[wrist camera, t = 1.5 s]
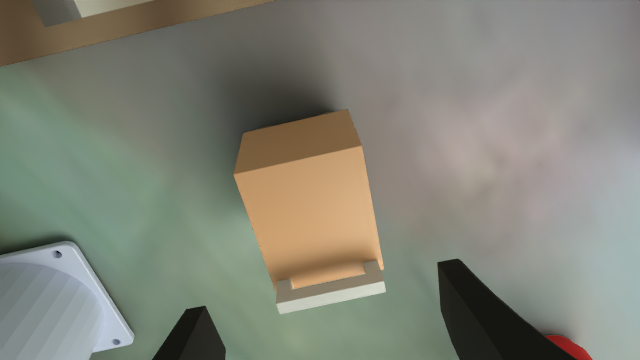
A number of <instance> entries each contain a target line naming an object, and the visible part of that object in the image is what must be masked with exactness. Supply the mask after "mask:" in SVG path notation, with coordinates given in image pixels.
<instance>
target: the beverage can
mask: <svg viewBox="0 0 640 360" xmlns="http://www.w3.org/2000/svg"><path fill="white" fill-rule="evenodd" d="M544 336H545V337H547V338H548V339H549V340H551V341H552V342H553V343H555V344H556V345H558V346H559V347H560V348H562V349H563V350H565V351H566V352H568V353H569V354H570V355H572V356H573V357H575V358H576V359H578V360H592V358H591V357H590V356H589V354H588V353H587V352H586V350H585V349H583V348H582V347H580V346H578V345H577V344H575V343H573V342H572V341H571V340H570V339H569V338H567V337H565V336H562V335H557V334H550V335H544Z"/></svg>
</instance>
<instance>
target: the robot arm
mask: <svg viewBox="0 0 640 360" xmlns="http://www.w3.org/2000/svg"><path fill="white" fill-rule="evenodd" d="M56 251H59V252H60V253H61V254H60V253H57V252H56ZM437 263H438V277H439V292H440V306H441V312H442V315H443V318H444V321H445V324H446V327H447V330H448V333H449V336H450V339H451V341H452V344H453V346H454V348H455V350H456V353H457V355H458V357H459V359H460V360H578V359H576V358H575V357H573V356H572V355H570V354H569V353H568V352H566V351H565V350H563V349H562V348H560V347H559V346H558V345H556V344H555V343H553V342H552V341H551V340H549V339H548V338H547V337H545V336H544V335H543V334H542V333H540V332H539V331H538V330H536V329H535V328H534V327H533V326H531V325H530V324H529V323H528V322H526V321H525V320H524V319H523V318H522V317H520V316H519V315H518V314H517V313H516V312H514V311H513V310H512V309H511V308H510V307H509V306H508V305H506V304H505V303H504V302H503V301H502V300H501V299H500V298H498V297H497V296H496V295H495V294H494V293H493V292H492V291H491V290H490V289H489V288H488V287H487V286H486V285H485V284H484V283H483V282H482V281H480V280H479V279H478V278H477V277H476V276H475V275H474V274H473V273H472V272H471V270H470V269H469V268H468V267H467V266H466V265H465V264H464V263H463V262H462V261H461V260H459V259H453V260H447V261H442V262H437ZM133 339H134V334H133V332H132V331H131V329H130V328H129V326H128V324H127V323H126V321H125V320H124V318H123V317H122V315H121V314H120V312H119V310H118V309H117V307H116V306H115V304H114V303H113V301H112V299H111V298H110V296H109V295H108V293H107V292H106V290H105V288H104V287H103V285H102V284H101V282H100V281H99V279H98V278H97V276H96V274H95V273H94V271H93V270H92V268H91V267H90V265H89V263H88V262H87V260H86V259H85V257H84V256H83V254H82V253H81V251H80V249H79V248H78V246H77V245H76V244H75V243H73V242H70V241H62V242H58V243H53V244H49V245H44V246H40V247H35V248H31V249H26V250H22V251H17V252H12V253H8V254H3V255H0V360H89V358H90V356H91V354H92V353H93V352H97V351H102V350H107V349H112V348H116V347H121V346H126V345H129V344H131V343H132V342H133ZM225 353H226V349H225V347H224V344H223V342H222V340H221V338H220V336H219V334H218V332H217V330H216V327H215V325H214V323H213V321H212V319H211V317H210V315H209V313H208V310H207V308H206V306H201V307H196V308H190V309H186V310H185V312H184V313H183V315H182V316H181V318H180V319H179V321H178V322H177V324H176V325H175V327H174V328H173V330H172V331H171V332H170V334H169V335H168V337H167V338H166V340H165V341H164V343H163V344H162V346H161V347H160V349H159V350H158V352H157V353H156V355H155V356H154V358H153V359H152V360H225Z"/></svg>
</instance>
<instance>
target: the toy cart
mask: <svg viewBox="0 0 640 360" xmlns="http://www.w3.org/2000/svg"><path fill="white" fill-rule="evenodd" d="M233 175H234V178H235V180H236V183H237V186H238V189H239V191H240V194H241V197H242V200H243V203H244V205H245V208H246V211H247V214H248V216H249V219H250V222H251V225H252V227H253V230H254V233H255V236H256V238H257V241H258V244H259V247H260V249H261V252H262V255H263V258H264V261H265V263H266V266H267V269H268V272H269V274H270V277H271V280H272V283H273V285H274V288H275V291H276V292H277V296H276V304H277V307H278V310H279V313H280V314H283V313H288V312H293V311H298V310H302V309H307V308H312V307H317V306H322V305H326V304H331V303H336V302H341V301H345V300H350V299H355V298H360V297H364V296H369V295H374V294H379V293H383V292H386V290H385V285H384V280H383V276H382V273H381V270H383V269H384V266H383V261H382V255H381V250H380V244H379V238H378V233H377V227H376V222H375V216H374V210H373V205H372V199H371V193H370V188H369V182H368V177H367V171H366V165H365V160H364V154H363V149H362V144H361V142H360V139H359V137H358V134H357V132H356V129H355V127H354V124H353V122H352V119H351V117H350V114H349V112H348V109H346V110H341V111H337V112H334V111H328V112H324V113H322V114H321V115H319V116H315V117H311V118H306V119H302V120H297V121H293V122H289V123H284V124H280V125H276V126H263V127H260V128H258V129H257V130H254V131H249V132H245V133H243V136H242V140H241V145H240V149H239V153H238V157H237V161H236V166H235V170H234V174H233ZM365 273H366V274H365ZM360 274H364V275H360ZM355 275H359V276H355ZM351 276H355V277H351ZM346 277H350V278H346ZM341 278H345V279H341ZM336 279H341V280H336ZM332 280H336V281H332ZM327 281H331V282H327ZM322 282H326V283H322ZM318 283H322V284H318ZM313 284H317V285H313ZM308 285H312V286H308ZM303 286H308V287H303ZM299 287H303V288H299ZM294 288H298V289H294Z"/></svg>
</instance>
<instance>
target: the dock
mask: <svg viewBox="0 0 640 360" xmlns="http://www.w3.org/2000/svg"><path fill="white" fill-rule="evenodd" d="M271 1H275V0H0V67H1V66H5V65H9V64H13V63H17V62H21V61H26V60H30V59H34V58H38V57H42V56H46V55H51V54H55V53H59V52H63V51H67V50H71V49H76V48H80V47H84V46H88V45H92V44H96V43H100V42H105V41H109V40H113V39H117V38H121V37H125V36H130V35H134V34H138V33H142V32H146V31H150V30H155V29H159V28H163V27H167V26H171V25H175V24H179V23H184V22H188V21H192V20H196V19H200V18H204V17H209V16H213V15H217V14H221V13H225V12H229V11H234V10H238V9H242V8H246V7H250V6H254V5H258V4H263V3H267V2H271Z"/></svg>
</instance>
